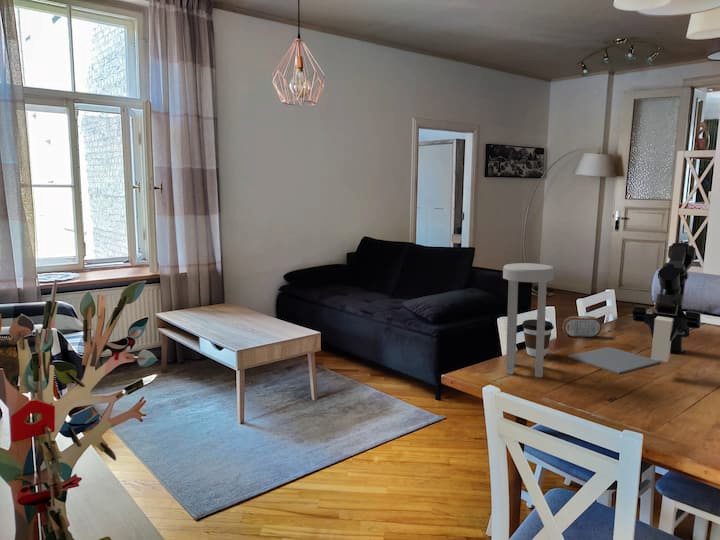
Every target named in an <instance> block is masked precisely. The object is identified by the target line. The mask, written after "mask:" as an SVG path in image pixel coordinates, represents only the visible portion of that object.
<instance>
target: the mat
mask: <svg viewBox="0 0 720 540" xmlns="http://www.w3.org/2000/svg"><path fill="white" fill-rule="evenodd" d="M567 358H568V359H571V360H574V361H576V362H577V361H578V362H581V363H583V364H587V365H589V366H592V367H596V368H598V367H599V369H602V370H604V371H607V372H610V373H614V374H617V375H620V373H621V374H623V373H629V372H631V371H634V370H636V371H637V370H638V369H639V370H640V369H642V368H646V367H650V366H654V365H658V364H661V361H658V360H653V359H651V357H646V356H642V355H640V354H639V355H638V354H635V353H632V352H629V351H625V350H622V349H618V348H614V347H611V346H605V347H602V348H597V349H594V350H588V351H584V352H580V353H576V354H570V355H567Z"/></svg>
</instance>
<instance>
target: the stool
mask: <svg viewBox="0 0 720 540" xmlns="http://www.w3.org/2000/svg"><path fill="white" fill-rule="evenodd" d="M554 273H555V267H554V266H552V265H548V264H544V263H543V264H542V263H541V264H540V263H534V262H532V263H528V262H527V263H526V262H525V263H523V262H522V263H521V262H518V263H508V264H504V266H503V268H502V278H503V279H504V280H507V281H508V287H507V288H508V289H507V318H506V319H507V323H506V324H507V325H506V352H505V353H506V355H505V356H506V357H505V374H506V375H512V374H513V375H514V374H515V373H514V370H515V366H516V359H517V329H518V303H519V301H518V300H519V299H518V298H519V283H538V287H537V288H538V289H537V310H536V311H537V314H536V315H537V316H536V320H537V335H536V357H535V360H534V361H535V365H534V366H535V367H534V377H535V378H541V377H542V378H543V375H544V374H543V373H544V371H543V370H544V357H545V356H544V334H545V321H546V308H547V307H546V305H547V282H551V281H554V278H555V277H554V276H555V275H554Z"/></svg>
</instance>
